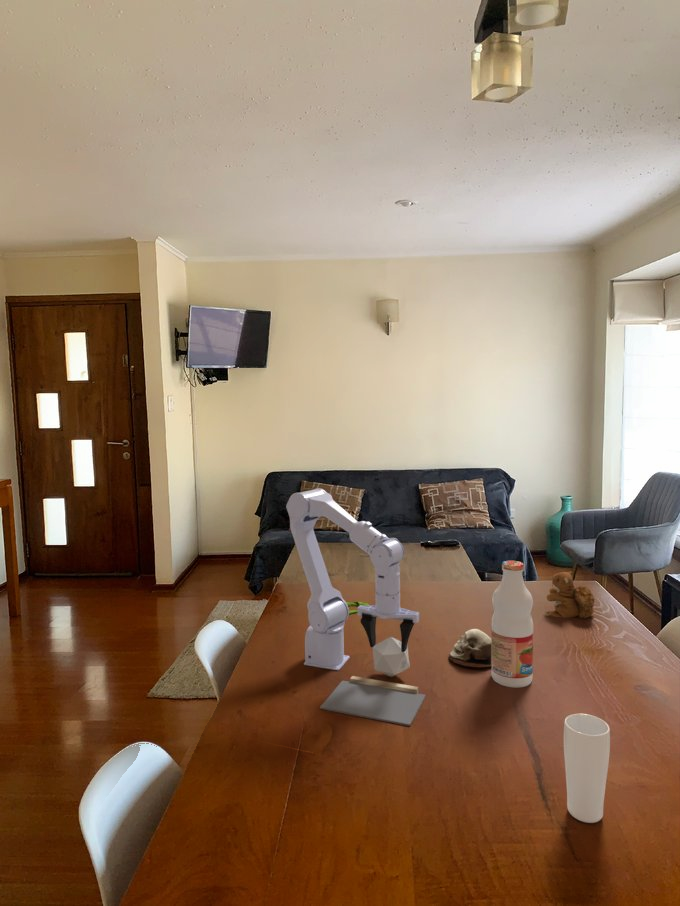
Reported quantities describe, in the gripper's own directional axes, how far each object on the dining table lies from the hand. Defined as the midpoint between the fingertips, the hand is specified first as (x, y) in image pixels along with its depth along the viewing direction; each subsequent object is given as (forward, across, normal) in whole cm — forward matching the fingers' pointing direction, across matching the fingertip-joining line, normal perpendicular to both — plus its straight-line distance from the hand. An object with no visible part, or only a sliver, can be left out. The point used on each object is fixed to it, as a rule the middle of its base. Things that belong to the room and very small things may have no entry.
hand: (388, 647), depth 142 cm
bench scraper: (+8, 0, -11) cm, 14 cm away
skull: (+10, +17, +14) cm, 24 cm away
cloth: (+9, -26, +41) cm, 50 cm away
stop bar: (+8, 0, -4) cm, 9 cm away
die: (+8, 0, +2) cm, 8 cm away
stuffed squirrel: (+8, +39, +58) cm, 71 cm away
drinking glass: (+8, +43, -32) cm, 55 cm away
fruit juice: (+8, +27, +10) cm, 30 cm away
